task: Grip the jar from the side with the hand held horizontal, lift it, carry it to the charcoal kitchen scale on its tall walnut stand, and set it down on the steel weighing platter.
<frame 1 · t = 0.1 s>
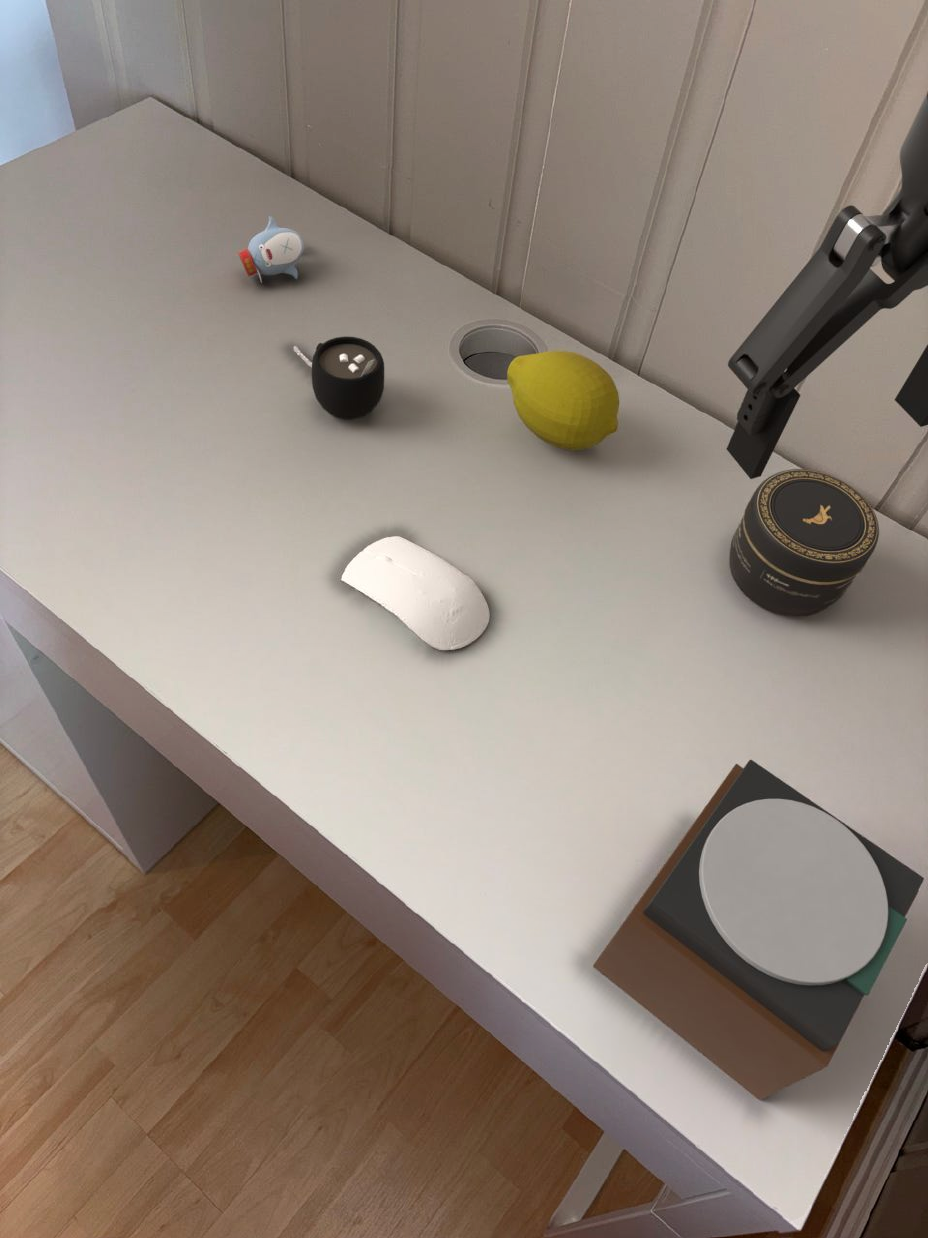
hand: (830, 436, 62), 19 cm above the table, tool pointing down, fingers open, 13 cm apart
figurine: (276, 269, 98), on the table
lemon: (556, 434, 88), on the table
computer mouse: (415, 596, 76), on the table
mug: (331, 389, 89), on the table
jar: (781, 576, 81), on the table
scale: (777, 901, 54), on the table
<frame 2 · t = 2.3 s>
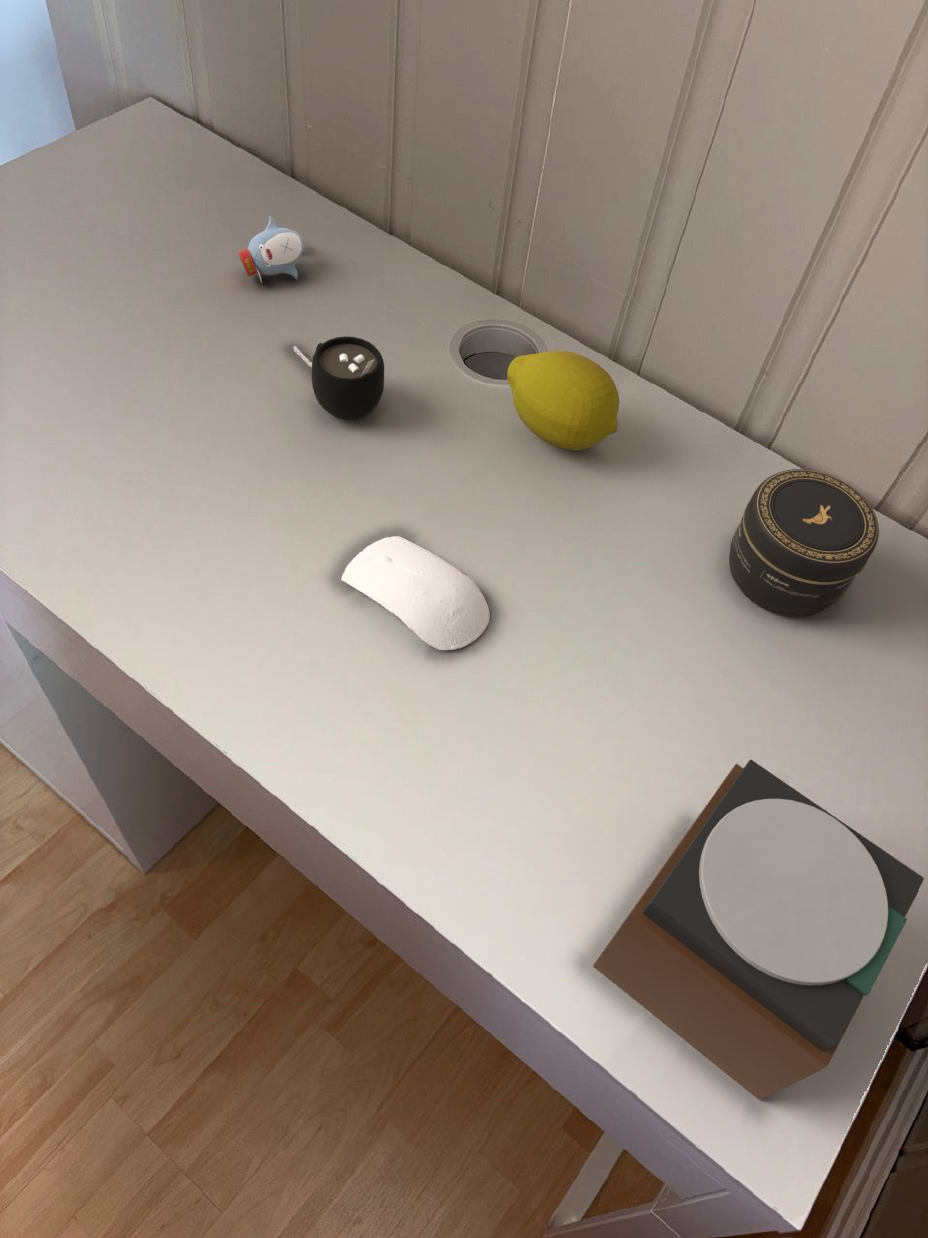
nothing on the table moved.
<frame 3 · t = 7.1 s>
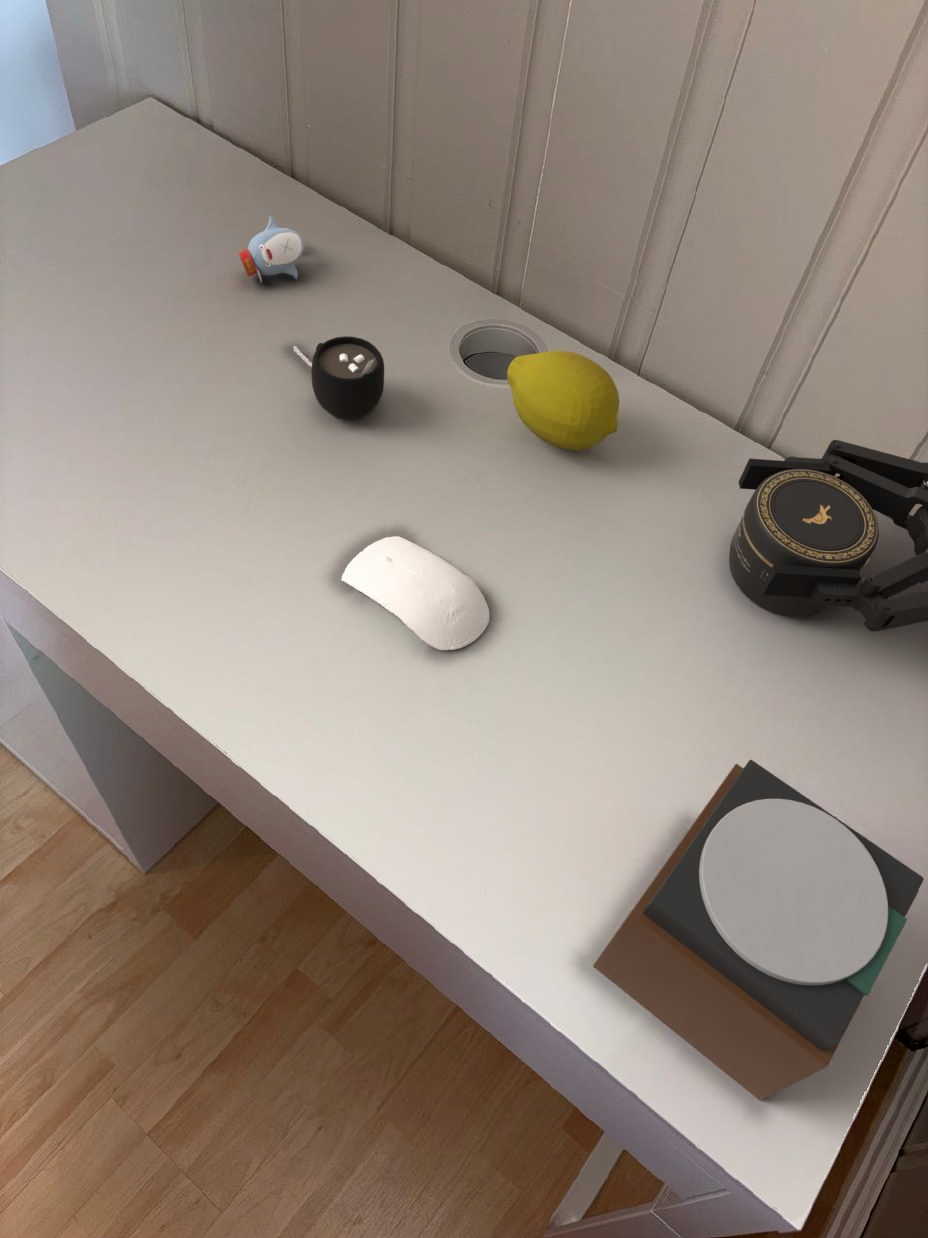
hand: (755, 524, 75), 6 cm above the table, tool horizontal, fingers closed on jar, 10 cm apart
jar: (780, 576, 81), on the table, touching gripper
everything else where it was.
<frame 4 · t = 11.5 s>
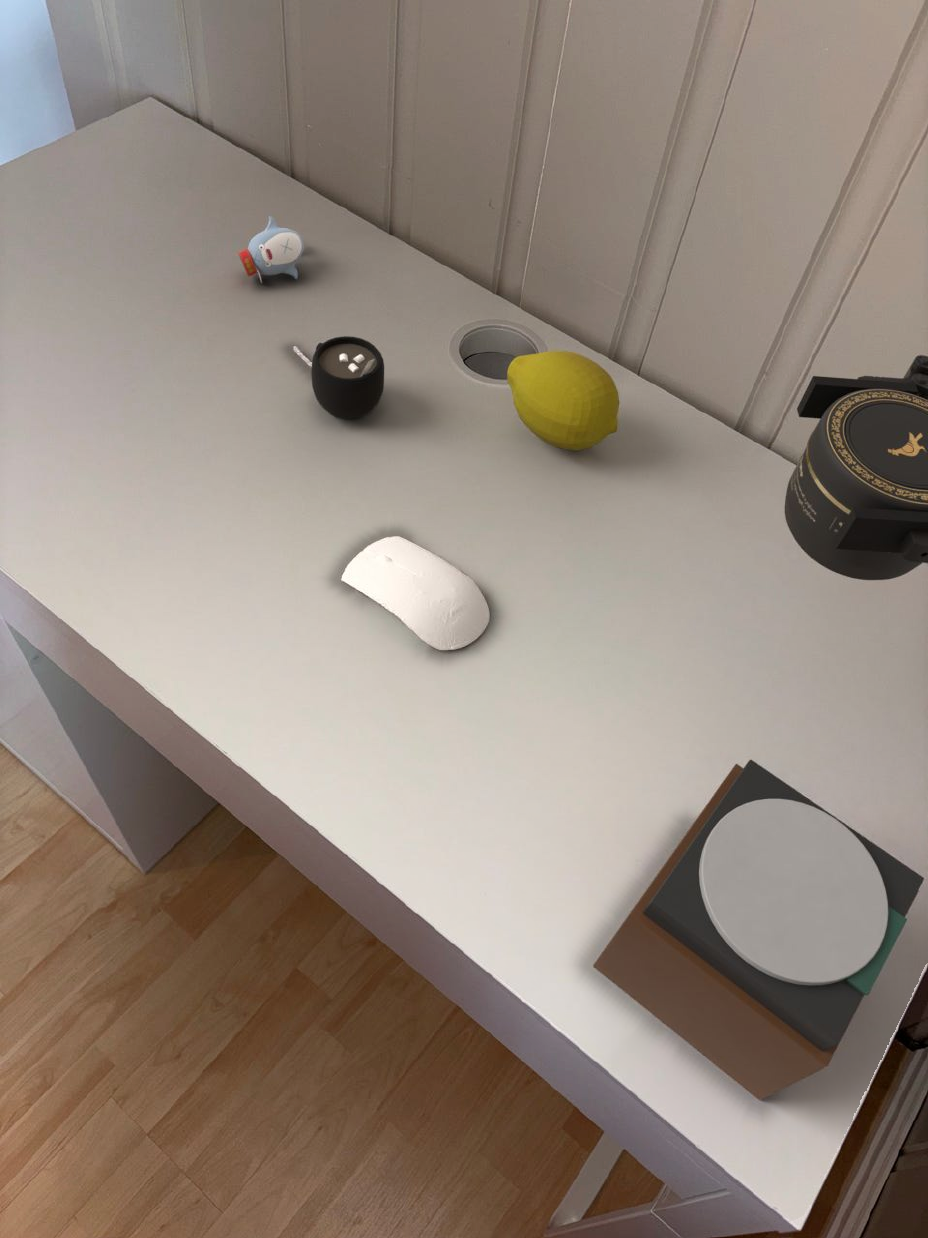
hand: (824, 459, 58), 22 cm above the table, tool horizontal, fingers closed on jar, 10 cm apart
jar: (850, 530, 63), point 15 cm above the table, touching gripper
everything else where it was.
when the fingers open (19 cm above the table, at t = 16.0 s): jar stays where it is, resting on scale.
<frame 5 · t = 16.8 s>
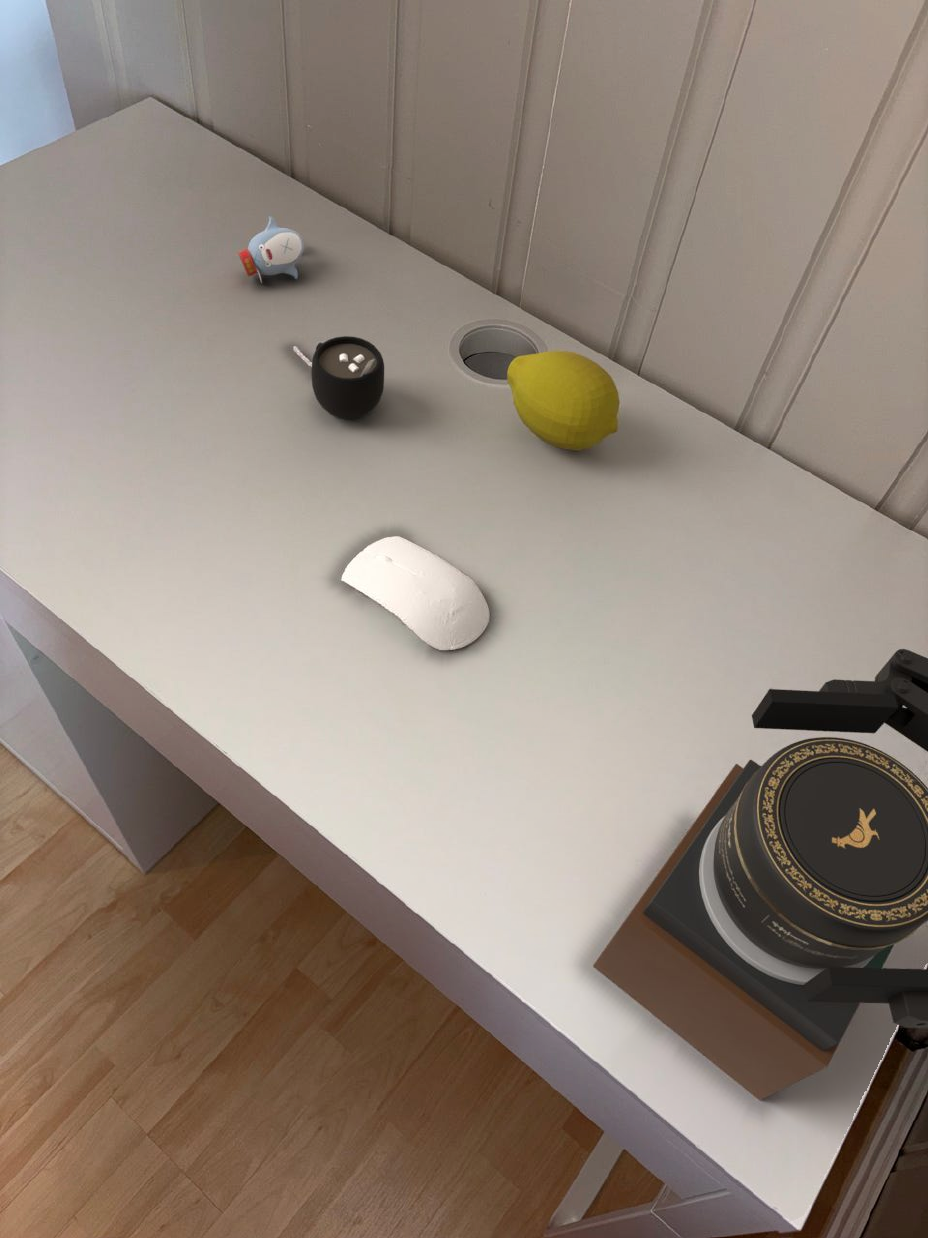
hand: (786, 835, 46), 19 cm above the table, tool horizontal, fingers open, 13 cm apart
jar: (793, 885, 52), point 12 cm above the table, touching scale
everything else where it was.
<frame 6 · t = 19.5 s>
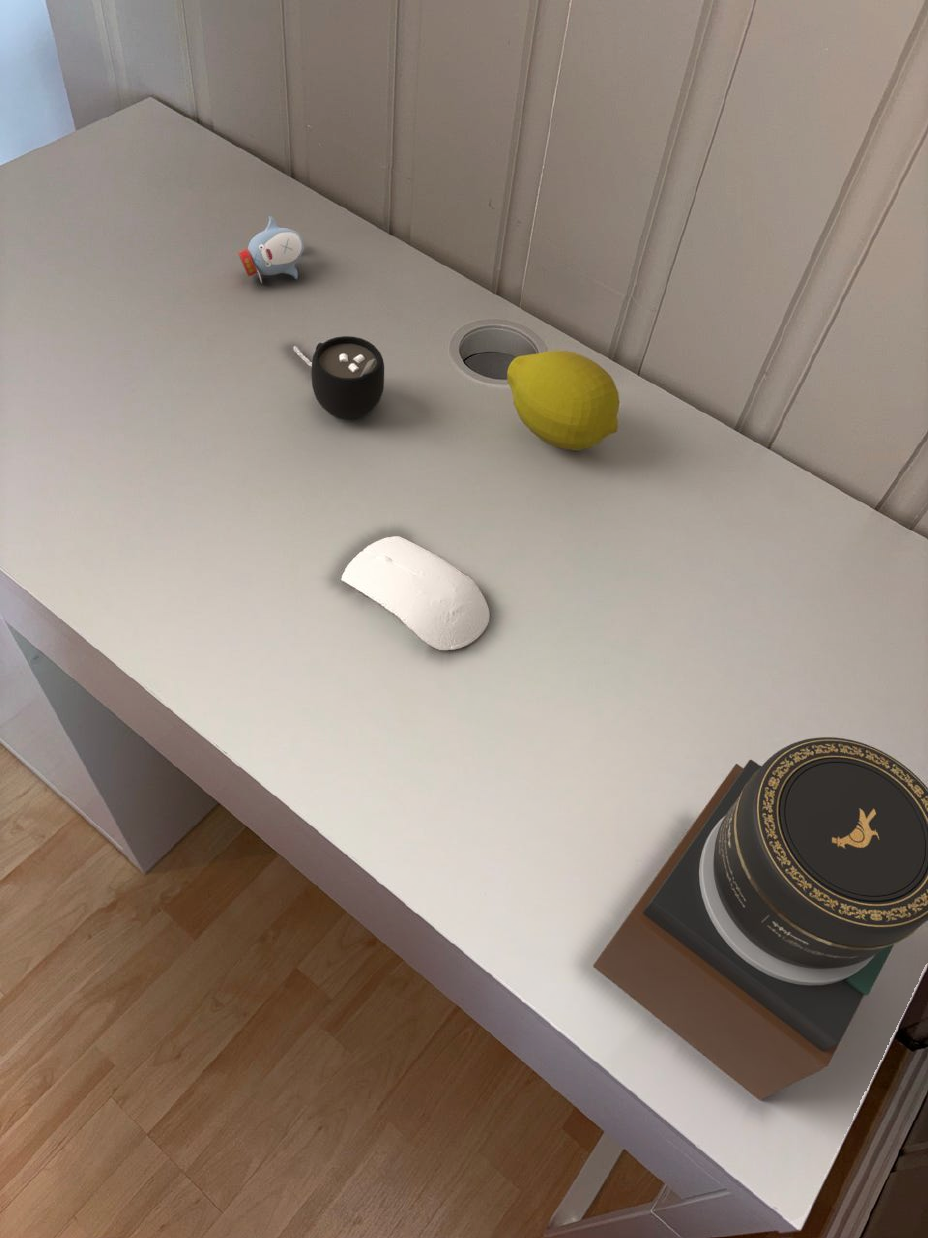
nothing on the table moved.
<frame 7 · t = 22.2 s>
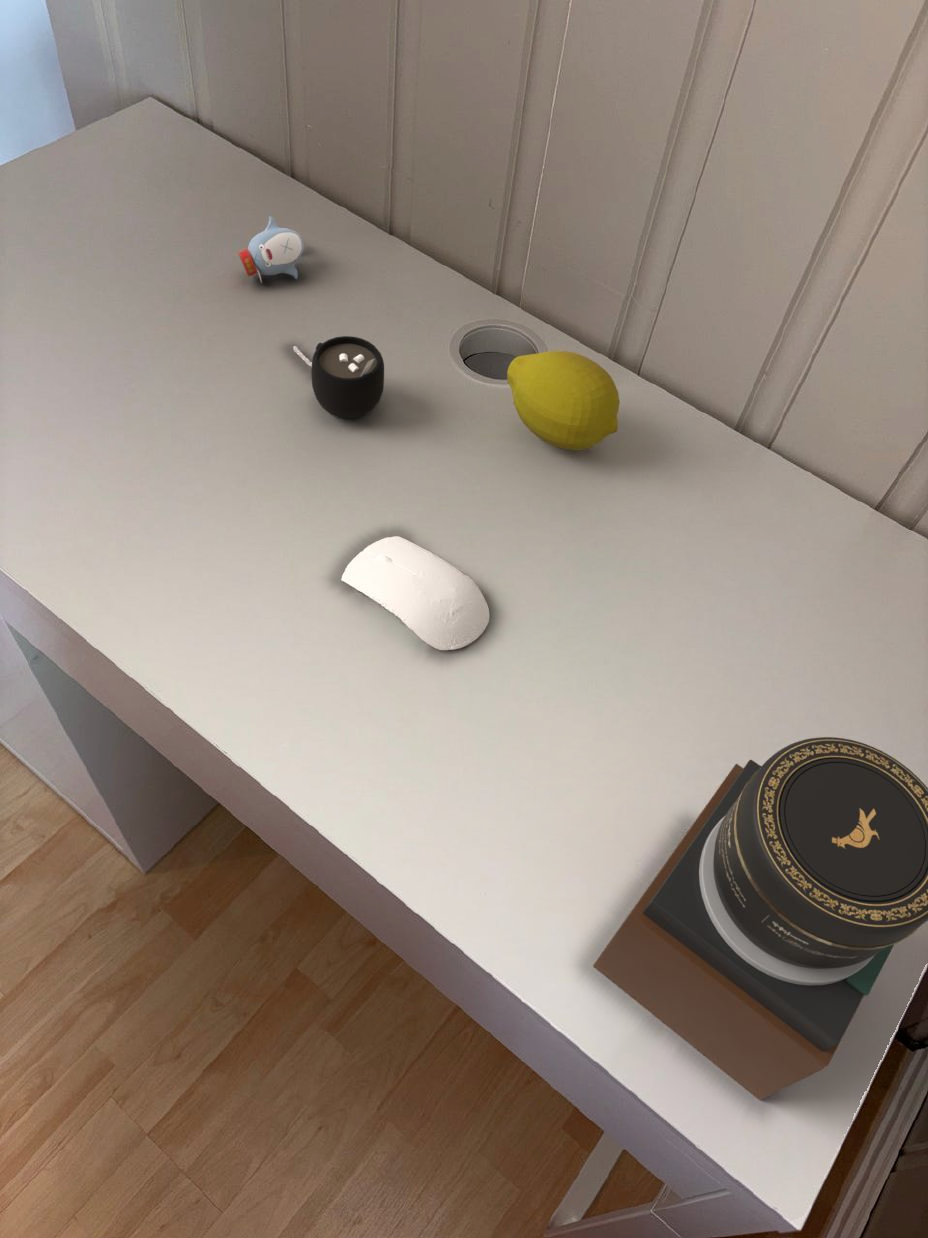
nothing on the table moved.
at the end: jar inside the target area on the scale (0.1 cm from its centre), point 2.4 cm above the scale's base; jar tilted 0°; the gripper is holding nothing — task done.
